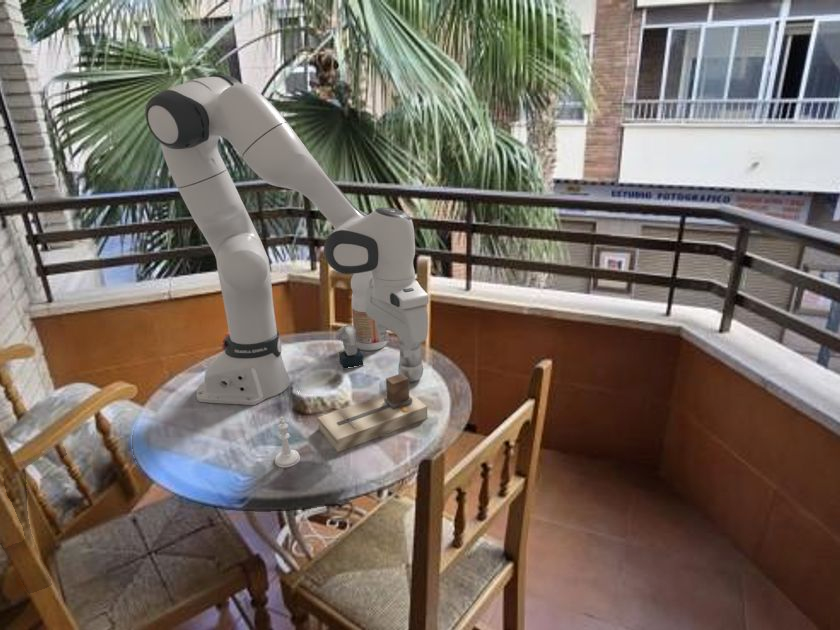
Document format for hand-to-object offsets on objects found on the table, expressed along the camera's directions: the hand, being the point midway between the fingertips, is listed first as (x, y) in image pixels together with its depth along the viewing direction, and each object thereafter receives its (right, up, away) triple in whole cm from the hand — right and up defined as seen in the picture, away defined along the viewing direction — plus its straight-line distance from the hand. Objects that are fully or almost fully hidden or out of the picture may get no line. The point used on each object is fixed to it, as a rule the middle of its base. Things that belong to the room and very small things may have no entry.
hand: (394, 347), depth 116 cm
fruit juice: (-9, -2, +41) cm, 42 cm away
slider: (+1, -13, +5) cm, 13 cm away
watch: (-13, -6, +30) cm, 33 cm away
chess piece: (-21, -22, -8) cm, 32 cm away
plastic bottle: (+3, -9, +21) cm, 24 cm away
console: (-5, -17, +3) cm, 18 cm away
